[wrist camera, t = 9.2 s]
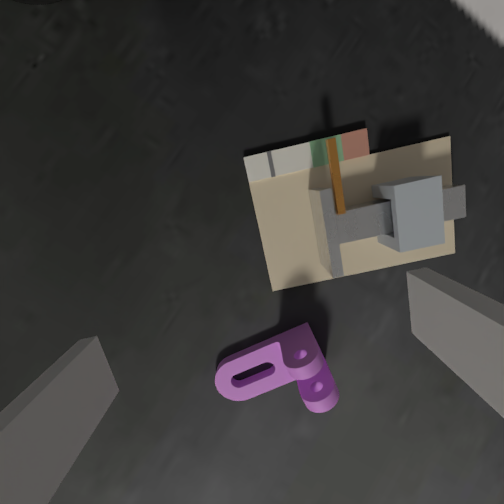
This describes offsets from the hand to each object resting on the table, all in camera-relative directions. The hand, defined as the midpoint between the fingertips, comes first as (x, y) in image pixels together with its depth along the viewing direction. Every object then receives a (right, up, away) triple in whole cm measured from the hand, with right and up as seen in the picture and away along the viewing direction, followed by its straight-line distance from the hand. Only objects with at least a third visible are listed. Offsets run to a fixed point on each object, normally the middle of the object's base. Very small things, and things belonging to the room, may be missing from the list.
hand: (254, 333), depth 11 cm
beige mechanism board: (+10, +8, +17) cm, 22 cm away
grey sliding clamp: (+13, +9, +17) cm, 23 cm away
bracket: (+2, -10, +22) cm, 24 cm away
